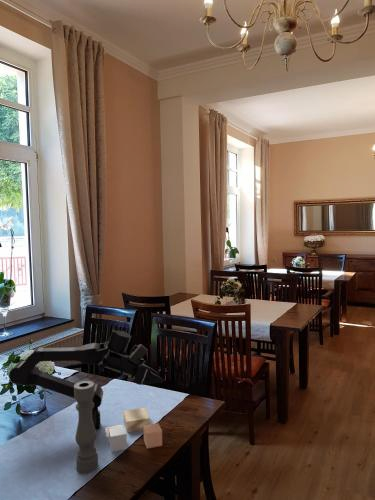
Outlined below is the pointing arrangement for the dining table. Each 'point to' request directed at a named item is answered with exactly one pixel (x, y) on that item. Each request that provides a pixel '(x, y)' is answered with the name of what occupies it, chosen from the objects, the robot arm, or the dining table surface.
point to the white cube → (117, 438)
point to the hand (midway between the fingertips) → (161, 378)
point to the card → (109, 428)
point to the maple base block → (136, 419)
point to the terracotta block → (152, 435)
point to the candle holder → (85, 428)
